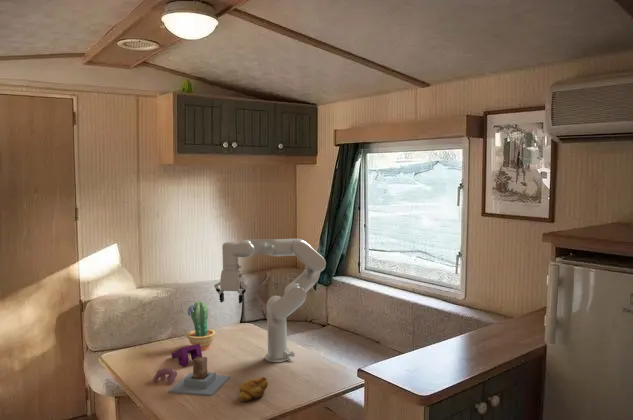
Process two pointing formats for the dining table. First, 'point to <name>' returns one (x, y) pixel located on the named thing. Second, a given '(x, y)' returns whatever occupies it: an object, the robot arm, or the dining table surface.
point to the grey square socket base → (200, 384)
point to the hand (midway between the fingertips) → (231, 302)
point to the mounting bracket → (183, 353)
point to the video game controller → (162, 374)
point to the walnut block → (200, 368)
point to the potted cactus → (200, 326)
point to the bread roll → (253, 389)
